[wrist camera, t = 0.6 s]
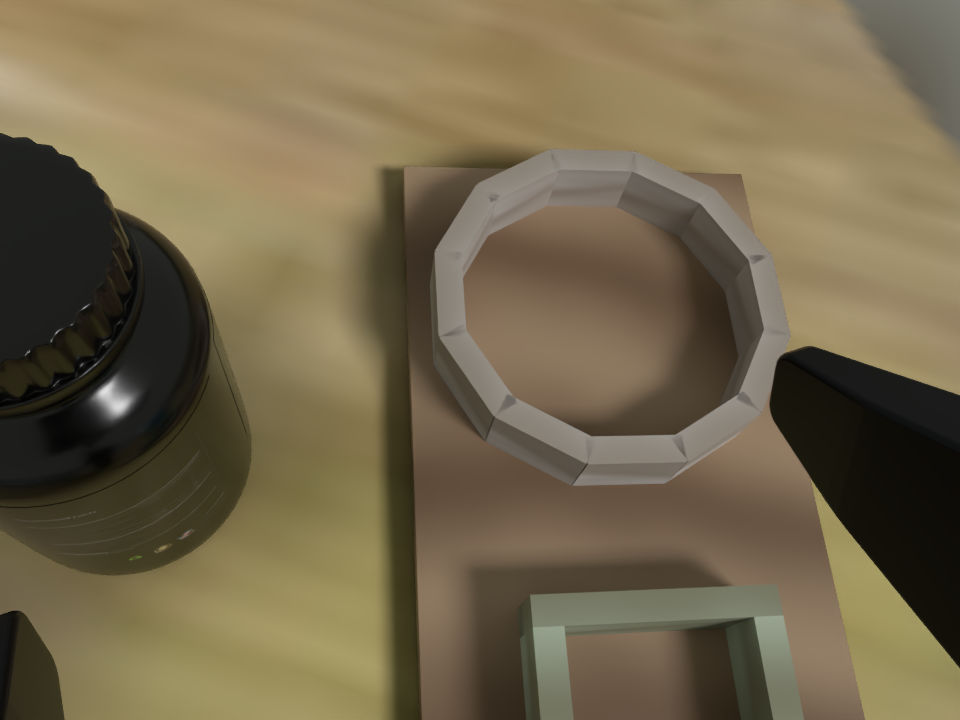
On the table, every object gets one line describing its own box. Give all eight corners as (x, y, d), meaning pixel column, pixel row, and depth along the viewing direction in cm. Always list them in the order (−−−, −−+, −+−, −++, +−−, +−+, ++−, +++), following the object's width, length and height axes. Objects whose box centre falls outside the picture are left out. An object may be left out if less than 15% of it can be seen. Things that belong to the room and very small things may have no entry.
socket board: (902, 974, 22) (976, 1001, 20) (429, 1026, 21) (439, 1063, 18) (730, 190, 32) (764, 137, 30) (402, 183, 31) (406, 127, 28)
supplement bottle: (-27, 416, 26) (-311, 155, 15) (199, 322, 28) (95, 33, 17) (57, 631, 23) (-205, 510, 13) (294, 511, 25) (245, 319, 15)
